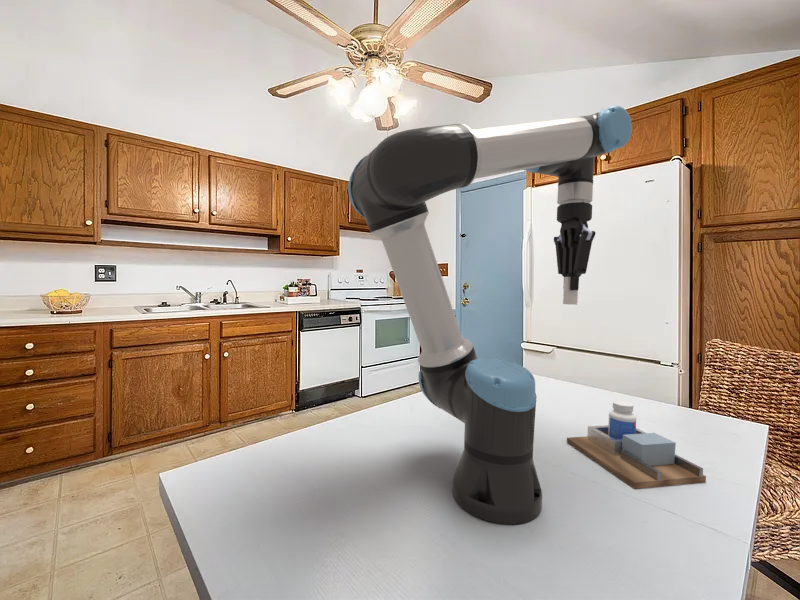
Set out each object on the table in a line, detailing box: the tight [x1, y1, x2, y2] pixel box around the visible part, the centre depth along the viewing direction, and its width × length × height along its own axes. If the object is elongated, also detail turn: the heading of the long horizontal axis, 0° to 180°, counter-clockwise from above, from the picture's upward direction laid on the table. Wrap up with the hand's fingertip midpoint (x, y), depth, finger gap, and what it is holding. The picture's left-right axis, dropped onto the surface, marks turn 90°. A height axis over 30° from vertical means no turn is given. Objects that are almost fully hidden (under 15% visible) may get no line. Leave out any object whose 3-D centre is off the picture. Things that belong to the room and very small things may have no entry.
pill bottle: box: [607, 400, 637, 440], centre depth 84 cm, size 6×5×10 cm
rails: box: [620, 450, 704, 481], centre depth 75 cm, size 10×9×2 cm
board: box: [566, 436, 707, 490], centre depth 80 cm, size 16×20×1 cm
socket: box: [586, 424, 646, 455], centre depth 85 cm, size 11×8×3 cm
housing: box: [622, 432, 677, 466], centre depth 78 cm, size 8×5×4 cm, turn 101°
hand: (570, 304), depth 88 cm, fingers closed
